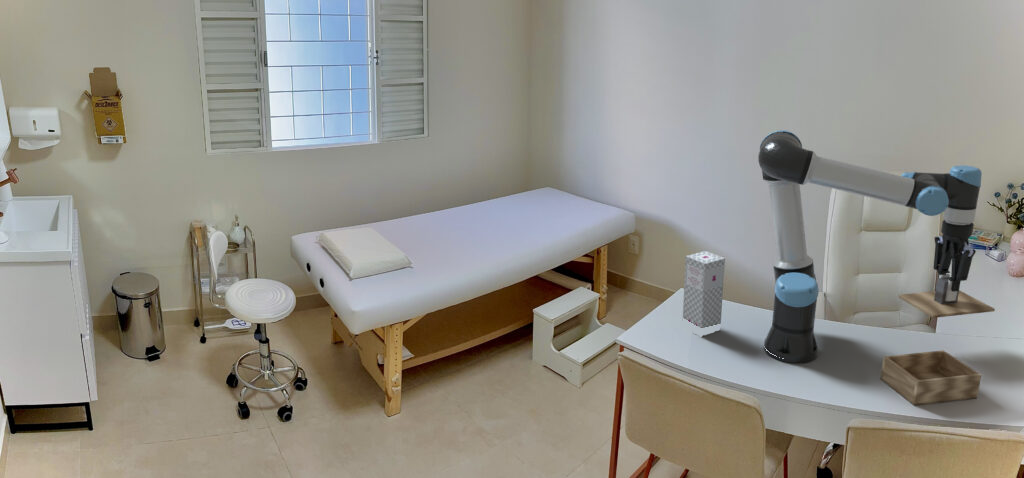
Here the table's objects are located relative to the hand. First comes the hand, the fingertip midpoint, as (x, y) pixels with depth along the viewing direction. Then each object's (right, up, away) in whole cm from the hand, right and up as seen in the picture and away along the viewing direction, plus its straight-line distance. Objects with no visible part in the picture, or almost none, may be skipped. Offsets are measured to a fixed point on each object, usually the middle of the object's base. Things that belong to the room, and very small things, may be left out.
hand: (945, 297), depth 208 cm
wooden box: (-14, -23, -14) cm, 31 cm away
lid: (0, -2, +1) cm, 2 cm away
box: (-65, -12, +24) cm, 70 cm away
